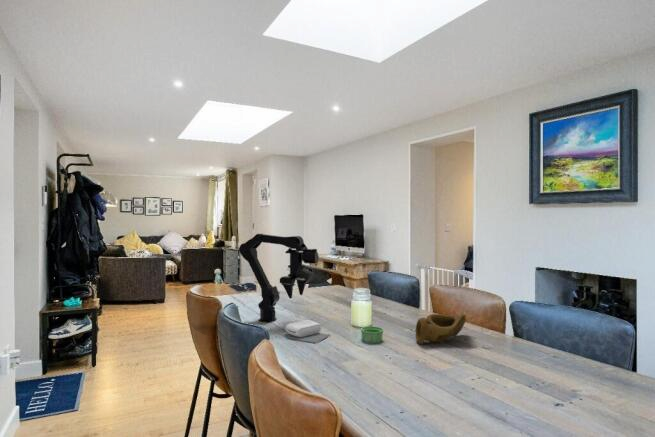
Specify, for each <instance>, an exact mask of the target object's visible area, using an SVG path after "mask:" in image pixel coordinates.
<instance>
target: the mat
mask: <svg viewBox="0 0 655 437" xmlns="http://www.w3.org/2000/svg"><path fill="white" fill-rule="evenodd" d="M330 335H331V334H329V333H323V332H321V333H320V332H319V333H316V334H312V335H308V336H304V337H296V336H293V335H291V334H290V335H289V336H287V337H285V339H286V338H288V339H287V340H292V339H293V341H297V340H299V341H298V342H303V341H305V342H304V343H309V342H310V344H315V343H317V344H318V342H319V343H320V342H322V341H324V340H326V339H327V337H328V336H329V337H331V336H330ZM329 337H328V338H329ZM325 338H326V339H325ZM323 339H324V340H323Z"/></svg>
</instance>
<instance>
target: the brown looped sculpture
mask: <svg viewBox="0 0 655 437" xmlns="http://www.w3.org/2000/svg"><path fill="white" fill-rule="evenodd" d="M466 320H467V319H466V314H465V313H462V314H461V315H459V316H453V315H448V314H441V313H433V314H431V313H430V314H429V315H427V317H420V318H418V319H417V322H416V326H415V341H416V342H417V343H418V344H419V345H423V344H424V342H425V341H429V342H433V343H440V342H442V341H446V342H450V340H451V339H452V338H453V337H454V338H455V337H456V336H458V334H460V332H461V331H462V329H463V327H464V326H465V324H466Z"/></svg>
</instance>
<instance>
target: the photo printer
mask: <svg viewBox="0 0 655 437" xmlns="http://www.w3.org/2000/svg"><path fill="white" fill-rule="evenodd" d="M284 328H285V329H284V330H285V331H286V333H287V334H288V335H290V336H291V335H293V336H296V337H304V336H308V335H312V334H316V333H320V332H321V331H322V327H321V324H320V323H318V322H316V321H313V320H312V319H311V320H310V319H304V320H303V319H302V320H299V321H293V322H289V323H287V324H285V327H284Z"/></svg>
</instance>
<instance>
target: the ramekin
mask: <svg viewBox="0 0 655 437" xmlns="http://www.w3.org/2000/svg"><path fill="white" fill-rule="evenodd" d="M360 332H361V339H362V341H363V342H365V343H370V344H371V343H372V344H374V343H375V344H376V343H380V342H382V341H383V333H384V328H383V327H381V326H376V325H375V326H374V325H367V326H362V327H361V328H360Z"/></svg>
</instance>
